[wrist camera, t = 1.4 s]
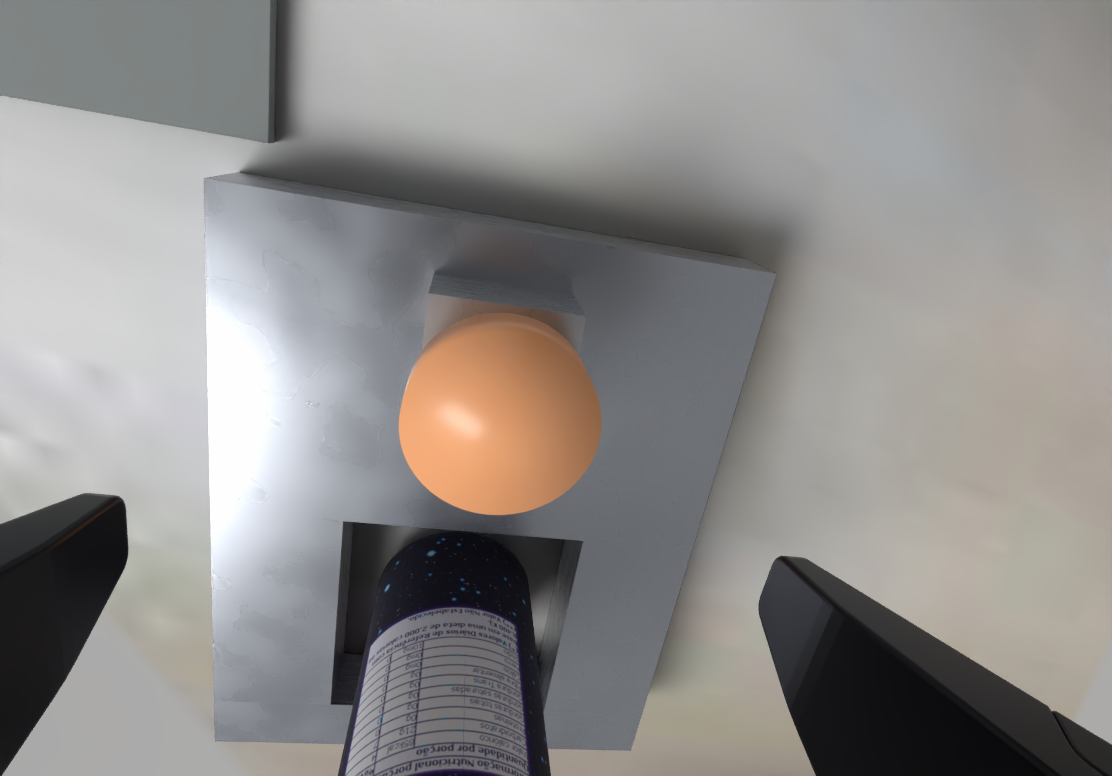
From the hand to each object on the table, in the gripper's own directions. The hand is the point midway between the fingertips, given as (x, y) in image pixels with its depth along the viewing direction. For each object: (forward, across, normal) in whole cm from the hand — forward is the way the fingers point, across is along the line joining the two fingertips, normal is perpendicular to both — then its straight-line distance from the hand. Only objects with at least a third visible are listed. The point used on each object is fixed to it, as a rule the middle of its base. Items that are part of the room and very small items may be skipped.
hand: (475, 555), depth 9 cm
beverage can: (+13, -1, +11) cm, 17 cm away
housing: (+13, -1, +7) cm, 15 cm away
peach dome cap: (+8, -1, 0) cm, 8 cm away
